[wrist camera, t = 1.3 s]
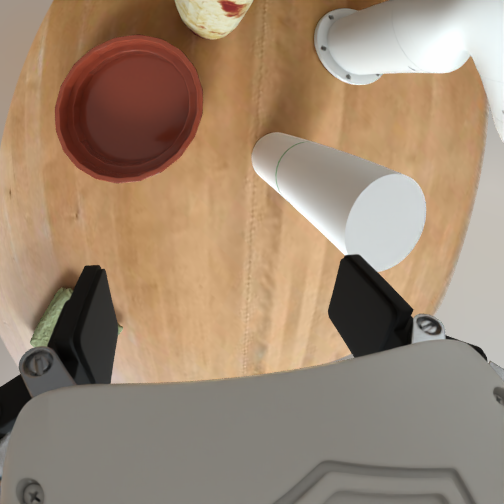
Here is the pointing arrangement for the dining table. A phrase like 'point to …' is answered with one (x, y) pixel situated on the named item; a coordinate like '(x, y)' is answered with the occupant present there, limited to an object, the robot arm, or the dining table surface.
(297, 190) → the cylindrical container
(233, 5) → the food model
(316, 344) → the dining table surface
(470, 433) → the robot arm
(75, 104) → the bowl
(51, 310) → the washcloth
